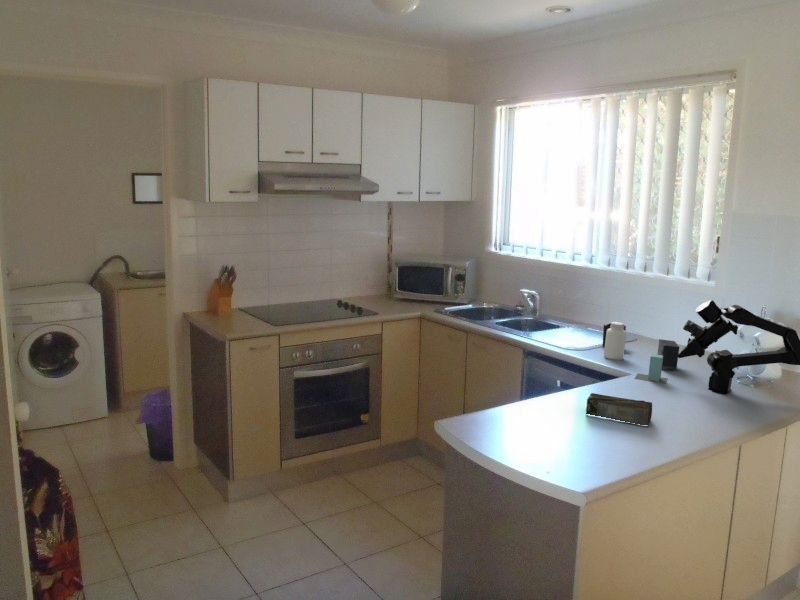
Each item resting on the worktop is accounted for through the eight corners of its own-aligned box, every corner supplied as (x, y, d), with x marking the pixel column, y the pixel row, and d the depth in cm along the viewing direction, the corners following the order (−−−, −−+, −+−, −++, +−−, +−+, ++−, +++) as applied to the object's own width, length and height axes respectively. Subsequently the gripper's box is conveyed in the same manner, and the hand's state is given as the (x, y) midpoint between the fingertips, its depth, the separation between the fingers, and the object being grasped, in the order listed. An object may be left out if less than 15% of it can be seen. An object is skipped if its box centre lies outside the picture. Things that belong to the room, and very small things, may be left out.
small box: (677, 372, 261) (680, 346, 259) (659, 370, 262) (662, 345, 260) (672, 365, 271) (675, 340, 269) (655, 363, 273) (658, 338, 271)
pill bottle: (625, 361, 274) (628, 325, 271) (605, 359, 275) (608, 324, 273) (621, 356, 282) (625, 321, 279) (602, 354, 283) (605, 320, 280)
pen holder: (599, 344, 301) (601, 322, 299) (620, 345, 300) (622, 323, 299) (604, 349, 292) (607, 327, 290) (626, 350, 291) (628, 328, 289)
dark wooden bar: (589, 409, 216) (591, 390, 215) (651, 420, 209) (653, 400, 207) (584, 417, 209) (586, 397, 208) (649, 429, 201) (651, 408, 200)
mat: (668, 379, 251) (668, 378, 251) (665, 385, 244) (665, 383, 244) (637, 374, 256) (637, 373, 256) (634, 379, 249) (634, 378, 249)
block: (660, 378, 251) (663, 355, 249) (659, 381, 247) (661, 358, 245) (649, 376, 252) (652, 353, 251) (647, 379, 249) (650, 356, 247)
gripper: (700, 309, 247) (665, 334, 254) (698, 319, 230) (660, 345, 237) (721, 333, 245) (685, 357, 252) (720, 344, 228) (682, 370, 235)
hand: (678, 356), depth 244 cm, fingers closed
